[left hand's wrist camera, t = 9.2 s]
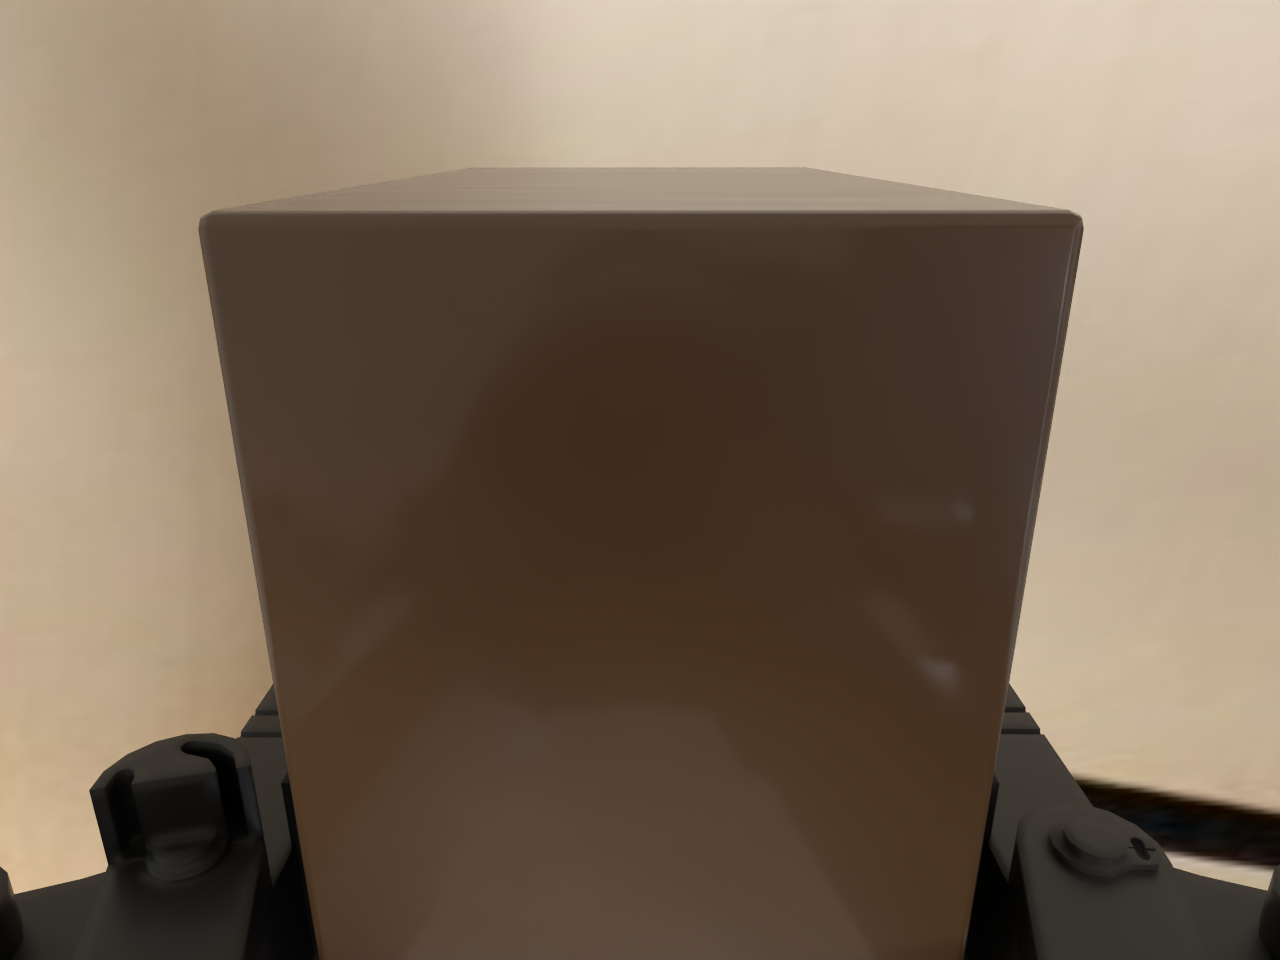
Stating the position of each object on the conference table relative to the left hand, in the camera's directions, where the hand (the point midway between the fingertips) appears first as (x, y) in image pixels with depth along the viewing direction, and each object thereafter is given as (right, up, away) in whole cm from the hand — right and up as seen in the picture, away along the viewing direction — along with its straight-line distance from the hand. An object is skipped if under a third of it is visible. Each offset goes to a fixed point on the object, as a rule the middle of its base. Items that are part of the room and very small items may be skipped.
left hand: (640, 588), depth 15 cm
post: (0, -29, +12) cm, 31 cm away
